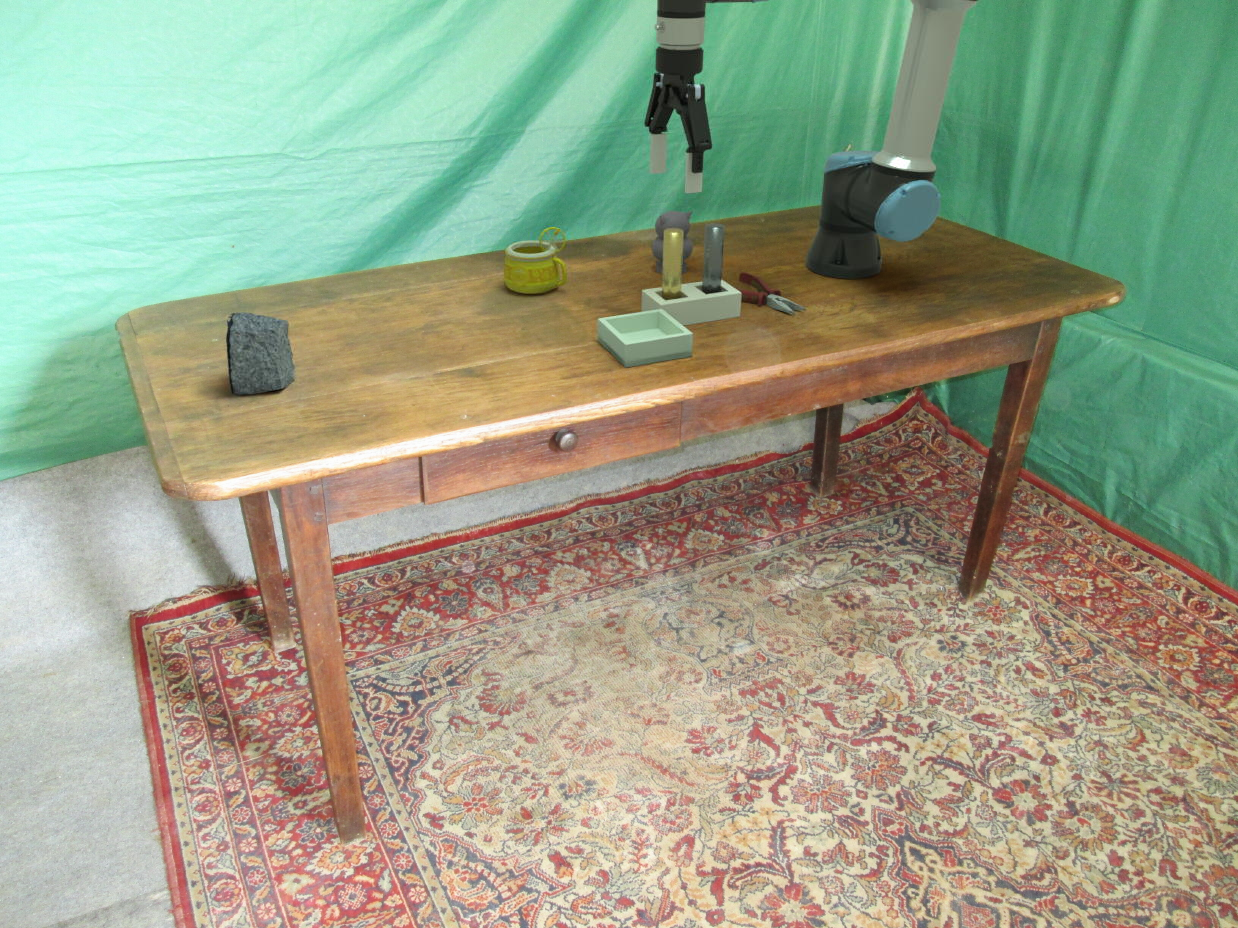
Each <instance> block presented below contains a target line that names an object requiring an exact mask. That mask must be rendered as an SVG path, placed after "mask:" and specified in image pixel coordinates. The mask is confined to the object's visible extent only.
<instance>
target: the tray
mask: <svg viewBox="0 0 1238 928" xmlns="http://www.w3.org/2000/svg"><path fill="white" fill-rule="evenodd" d="M693 335H694V333H693V332H692V331H690V330H689V329H688V328H687V327H686V326H685V325H684V326H683V325H681V324H680V323H679V322H678V321H676V320H675V319H674V318H673V317H671V316H670V315H669V314H668V313H666V312H665V311H664V310H663V309H657V310H651V311H644V312H641V311H638V312H632V313H626V314H618V315H614V316H607V317H600V318H597V341H598V343H600V344H601V346H603V348H605V350H607V351H608V352H609V353H610V354H611V356H613V357H614V358H615V359H616V360H617V361H618V362H619V363H620V364H621V365H622V366H623V367H624V368H625V369H626V368H633V367H638V366H643V365H649V364H654V363H655V364H656V363H661V362H666V361H672V360H673V361H674V360H677V359H683V358H684V359H685V358H690V357H692V356H693V346H694V345H693V342H694V341H693V339H694V336H693Z"/></svg>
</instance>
